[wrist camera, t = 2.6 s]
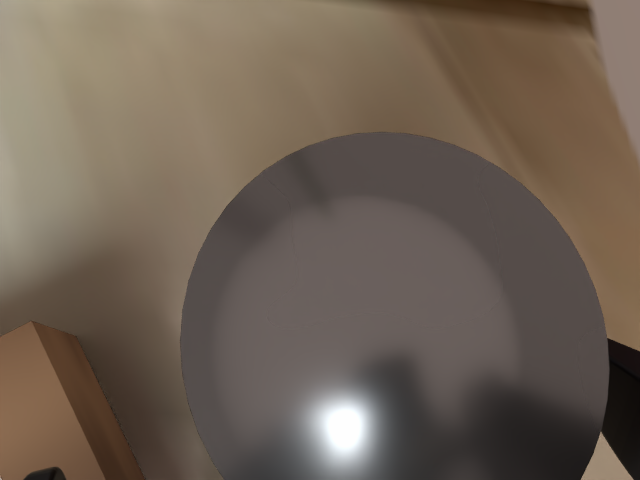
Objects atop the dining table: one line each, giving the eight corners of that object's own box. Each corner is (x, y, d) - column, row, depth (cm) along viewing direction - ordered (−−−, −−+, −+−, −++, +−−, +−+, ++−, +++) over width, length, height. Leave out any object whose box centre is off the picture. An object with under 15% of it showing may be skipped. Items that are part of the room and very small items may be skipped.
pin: (374, 370, 17) (678, 311, 5) (297, 468, 16) (451, 704, 4) (288, 294, 18) (373, 63, 5) (207, 383, 16) (78, 346, 4)
